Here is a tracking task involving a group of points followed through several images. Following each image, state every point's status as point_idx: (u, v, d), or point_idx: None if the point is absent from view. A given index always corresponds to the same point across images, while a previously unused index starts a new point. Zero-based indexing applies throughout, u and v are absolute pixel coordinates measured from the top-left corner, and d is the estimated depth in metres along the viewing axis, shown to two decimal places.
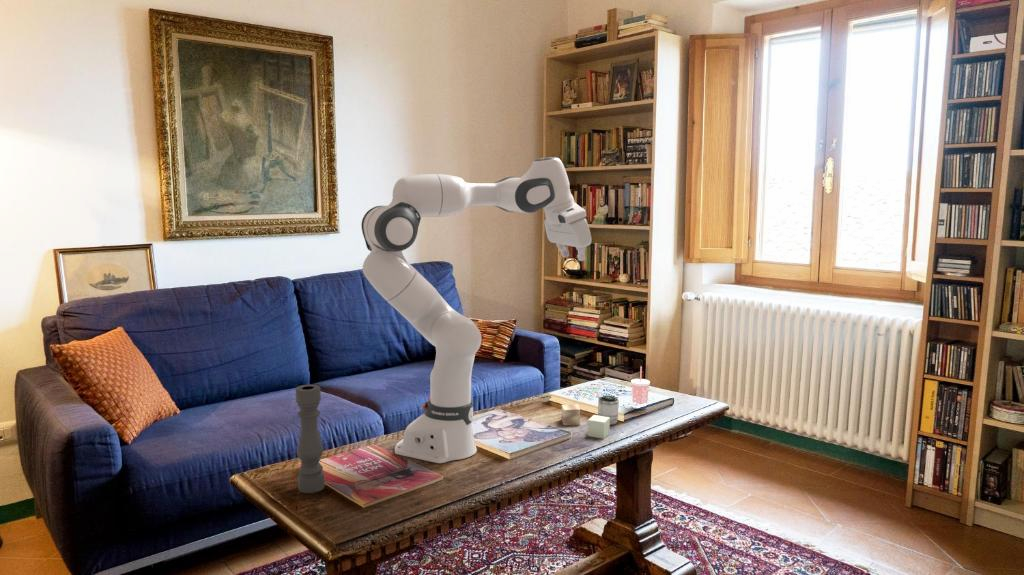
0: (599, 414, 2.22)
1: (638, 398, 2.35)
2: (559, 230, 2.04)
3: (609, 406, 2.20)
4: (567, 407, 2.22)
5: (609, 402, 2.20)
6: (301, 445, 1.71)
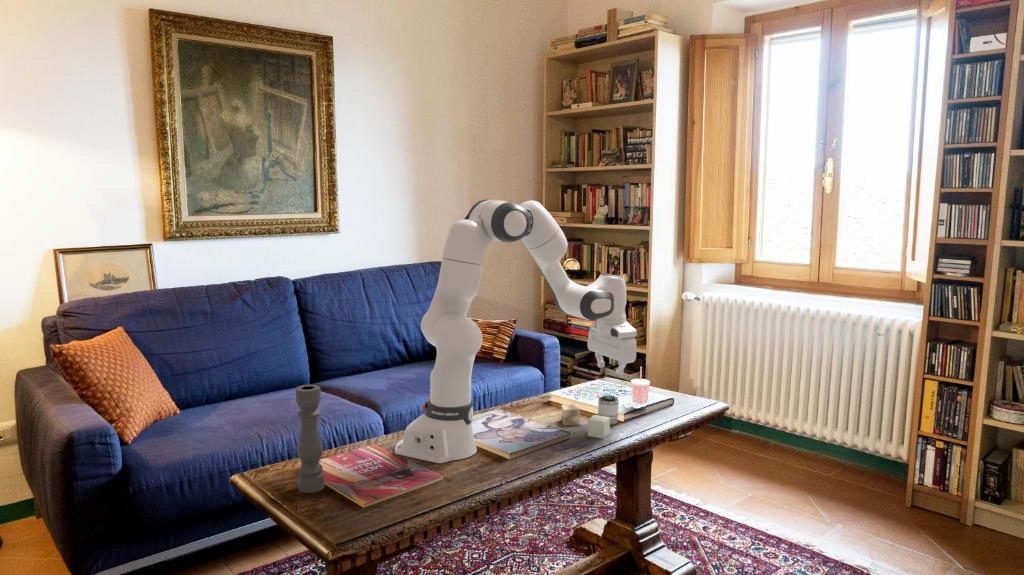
0: (599, 414, 2.22)
1: (638, 398, 2.35)
2: (604, 342, 2.20)
3: (609, 406, 2.20)
4: (567, 407, 2.22)
5: (609, 402, 2.20)
6: (301, 445, 1.71)
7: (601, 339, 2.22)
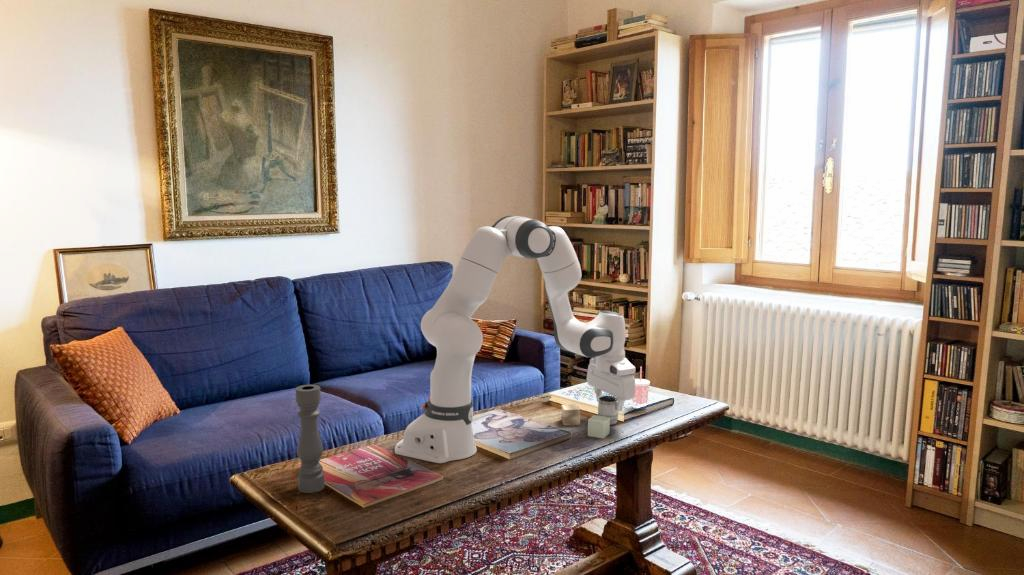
0: (599, 414, 2.22)
1: (638, 398, 2.35)
2: (603, 377, 2.22)
3: (609, 406, 2.20)
4: (567, 407, 2.22)
5: (609, 402, 2.20)
6: (301, 445, 1.71)
7: (600, 375, 2.24)
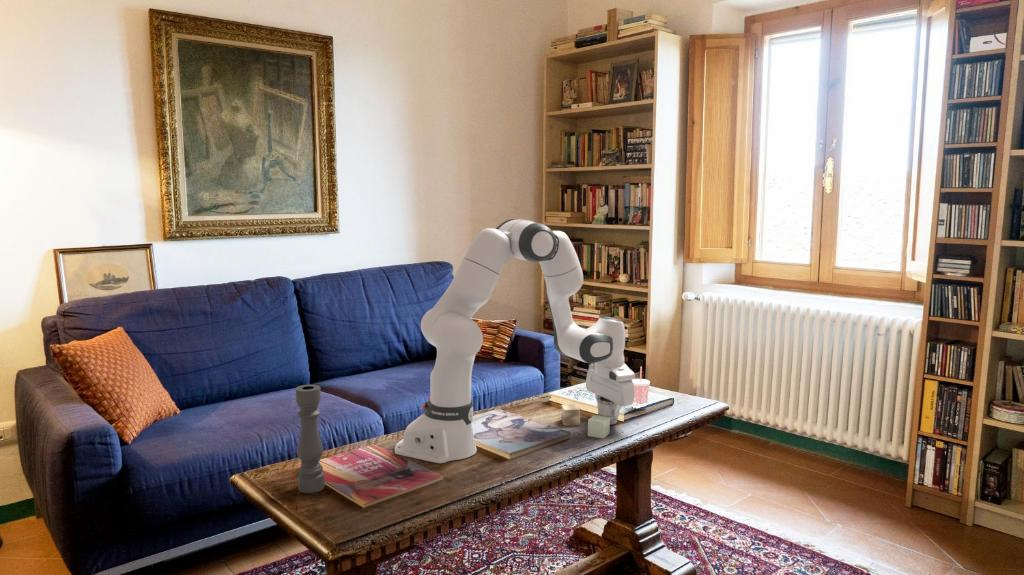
0: (599, 414, 2.22)
1: (638, 398, 2.35)
2: (603, 383, 2.22)
3: (609, 406, 2.20)
4: (567, 407, 2.22)
5: (609, 402, 2.20)
6: (301, 445, 1.71)
7: (599, 380, 2.24)
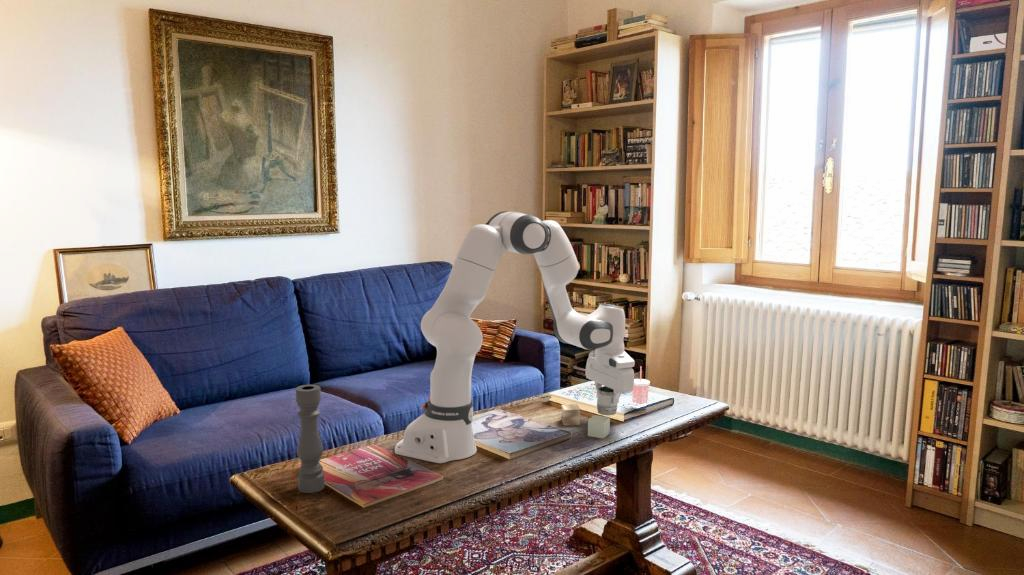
0: (598, 404, 2.22)
1: (638, 398, 2.35)
2: (602, 371, 2.22)
3: (608, 397, 2.20)
4: (567, 407, 2.22)
5: (608, 392, 2.20)
6: (301, 445, 1.71)
7: (599, 368, 2.23)
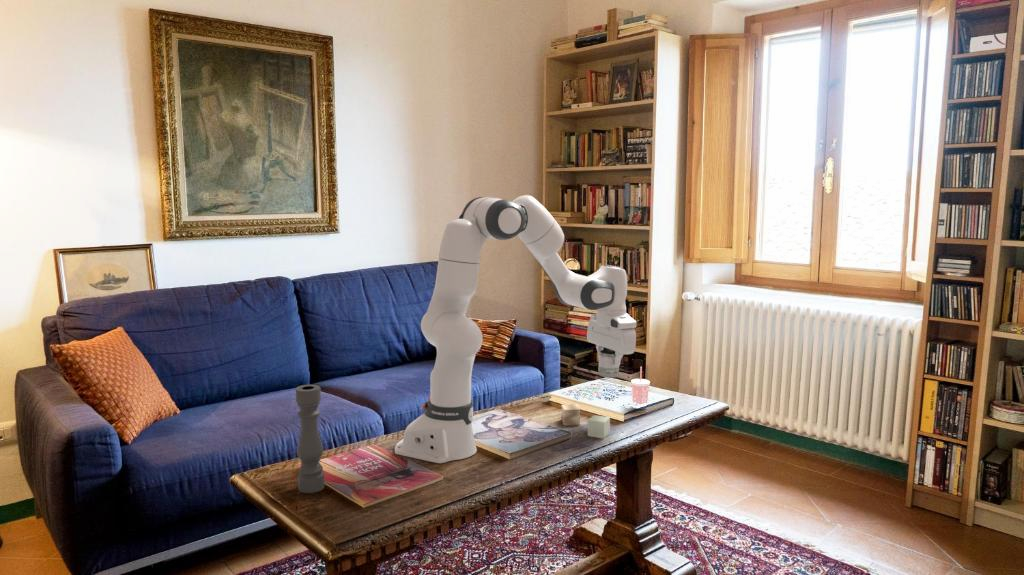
0: (600, 367, 2.20)
1: (638, 398, 2.35)
2: (604, 333, 2.20)
3: (610, 359, 2.18)
4: (567, 407, 2.22)
5: (610, 354, 2.18)
6: (301, 445, 1.71)
7: (601, 330, 2.21)
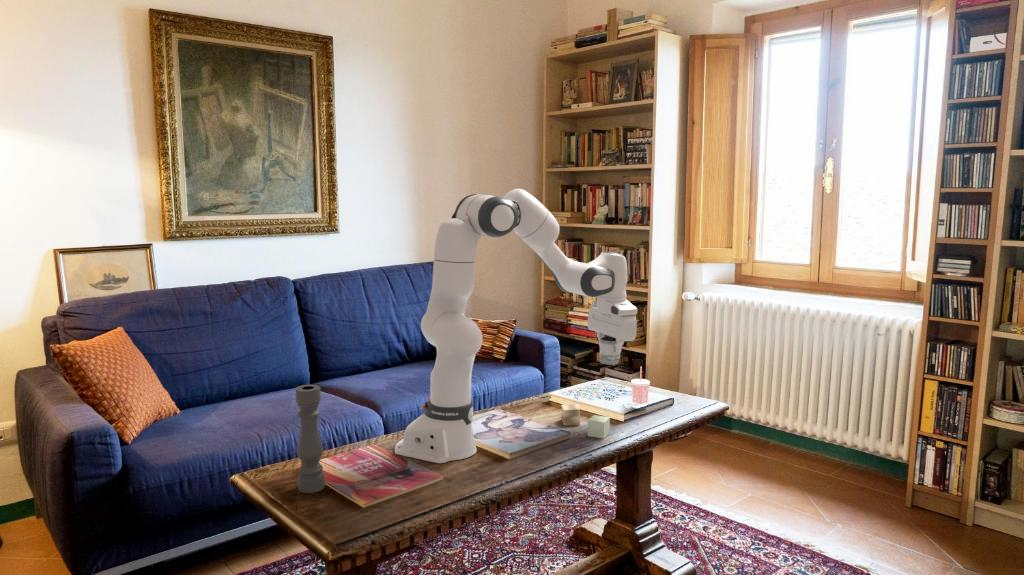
0: (601, 354, 2.19)
1: (638, 398, 2.35)
2: (604, 320, 2.19)
3: (611, 346, 2.17)
4: (567, 407, 2.22)
5: (611, 341, 2.17)
6: (301, 445, 1.71)
7: (601, 318, 2.21)
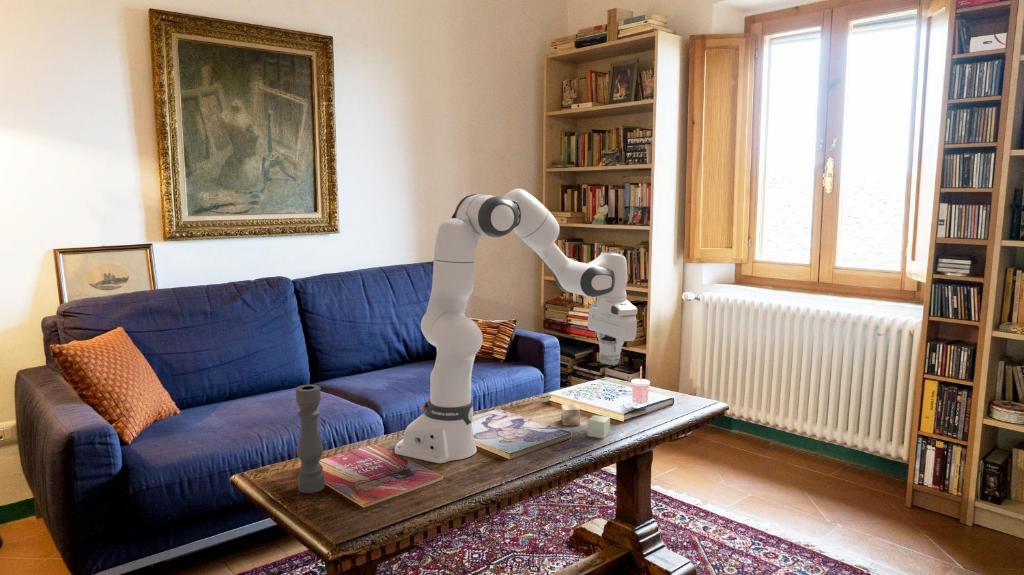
0: (601, 354, 2.19)
1: (638, 398, 2.35)
2: (604, 320, 2.19)
3: (611, 346, 2.17)
4: (567, 407, 2.22)
5: (611, 341, 2.17)
6: (301, 445, 1.71)
7: (601, 318, 2.21)
